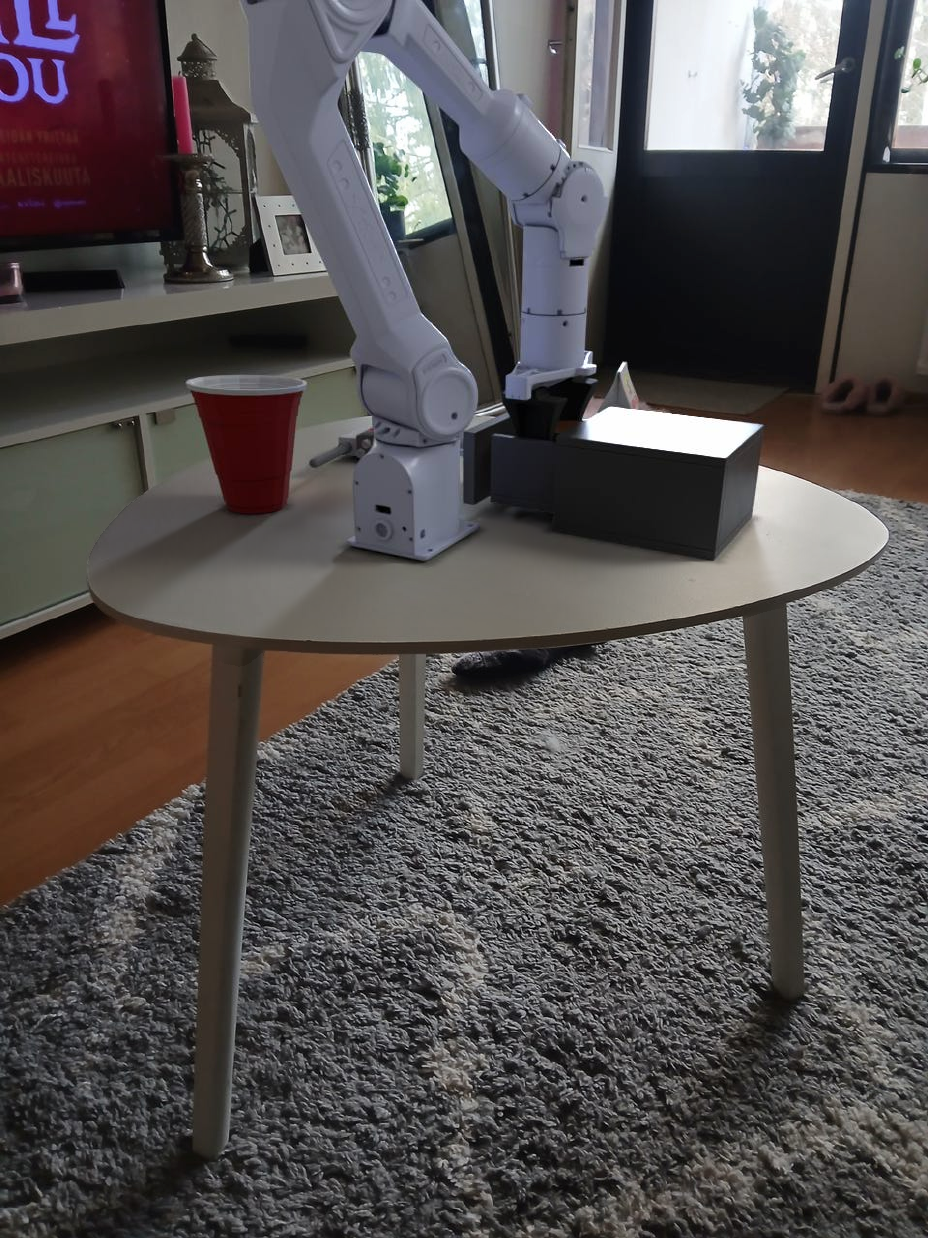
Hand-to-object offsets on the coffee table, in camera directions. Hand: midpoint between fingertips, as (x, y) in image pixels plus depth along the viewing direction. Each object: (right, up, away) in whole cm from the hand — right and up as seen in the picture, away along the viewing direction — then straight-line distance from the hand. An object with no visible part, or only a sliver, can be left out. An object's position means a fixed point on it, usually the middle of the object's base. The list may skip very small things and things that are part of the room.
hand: (548, 462), depth 91 cm
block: (0, -1, +1) cm, 1 cm away
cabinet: (+9, -6, -3) cm, 11 cm away
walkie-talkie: (-17, +3, +18) cm, 25 cm away
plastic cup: (-28, -4, +2) cm, 28 cm away
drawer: (-1, -3, +2) cm, 4 cm away
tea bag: (+9, +3, +17) cm, 20 cm away
